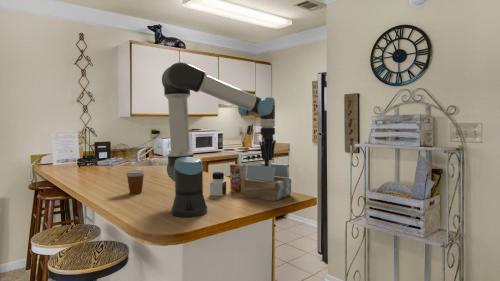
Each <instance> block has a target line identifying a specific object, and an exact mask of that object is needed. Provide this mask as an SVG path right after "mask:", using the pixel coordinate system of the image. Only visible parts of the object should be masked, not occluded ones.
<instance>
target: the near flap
mask: <svg viewBox="0 0 500 281" xmlns="http://www.w3.org/2000/svg"><path fill="white" fill-rule="evenodd" d="M246 169H247V170H246V179H255V180H263V181H272V182H274V177H276V176H275V167H265V166H261V165H251V164H248V165H247V168H246Z"/></svg>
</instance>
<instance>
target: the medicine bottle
mask: <svg viewBox="0 0 500 281" xmlns="http://www.w3.org/2000/svg"><path fill="white" fill-rule="evenodd" d="M224 176H225V175H224V172H222V171H215V172H213V173H212V181H210V182H209V196H213V197H223V196H225V195H226V194H227V180H224V179H225V178H224Z"/></svg>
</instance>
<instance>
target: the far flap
mask: <svg viewBox="0 0 500 281" xmlns="http://www.w3.org/2000/svg"><path fill="white" fill-rule="evenodd" d="M260 166H265V162H261V163H260ZM271 167H275V176H274V177H282V178H289V177H290V175H289V174H290V173H289V168H288V164H287V163H275V162H271Z"/></svg>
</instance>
